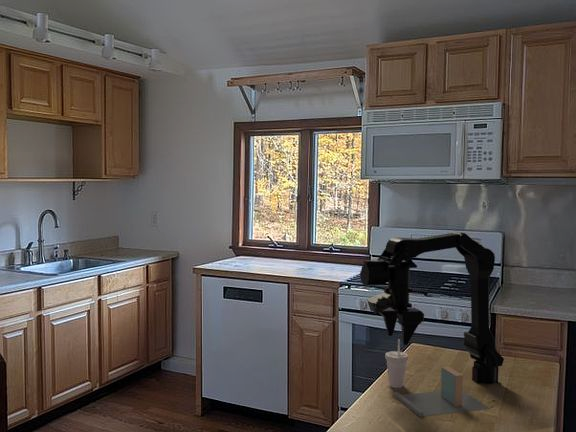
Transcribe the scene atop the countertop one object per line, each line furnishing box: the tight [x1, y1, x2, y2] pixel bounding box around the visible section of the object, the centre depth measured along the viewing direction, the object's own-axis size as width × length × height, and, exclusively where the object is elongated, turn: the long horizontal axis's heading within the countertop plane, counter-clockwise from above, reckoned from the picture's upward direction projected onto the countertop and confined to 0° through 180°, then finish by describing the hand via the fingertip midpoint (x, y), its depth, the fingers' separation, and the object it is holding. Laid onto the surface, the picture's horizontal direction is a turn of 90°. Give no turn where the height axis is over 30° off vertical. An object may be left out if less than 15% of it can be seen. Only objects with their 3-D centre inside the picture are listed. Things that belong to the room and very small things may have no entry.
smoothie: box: [384, 338, 409, 389], centre depth 162 cm, size 6×6×14 cm
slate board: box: [393, 389, 491, 418], centre depth 151 cm, size 20×14×2 cm
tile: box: [440, 366, 464, 406], centre depth 151 cm, size 2×7×8 cm, turn 16°
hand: (397, 340), depth 158 cm, fingers open, 9 cm apart
